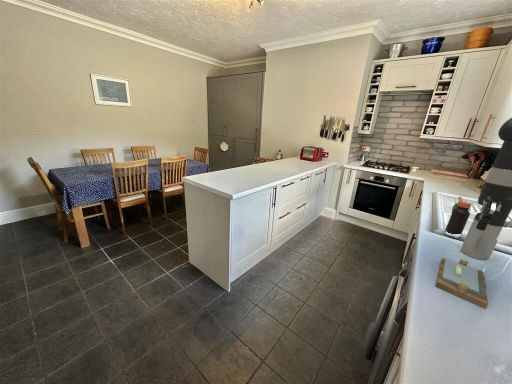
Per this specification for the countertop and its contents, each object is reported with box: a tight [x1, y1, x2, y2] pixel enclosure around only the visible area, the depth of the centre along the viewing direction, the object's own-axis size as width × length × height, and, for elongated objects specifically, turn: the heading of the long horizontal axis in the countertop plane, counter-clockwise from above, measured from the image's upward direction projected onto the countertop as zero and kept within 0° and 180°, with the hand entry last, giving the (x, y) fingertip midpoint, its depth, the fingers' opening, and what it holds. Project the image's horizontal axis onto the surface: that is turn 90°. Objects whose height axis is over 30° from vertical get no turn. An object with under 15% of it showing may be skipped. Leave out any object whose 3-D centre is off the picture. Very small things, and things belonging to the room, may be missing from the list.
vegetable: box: [451, 196, 464, 213], centre depth 124 cm, size 4×4×20 cm
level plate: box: [442, 258, 485, 297], centre depth 79 cm, size 17×11×3 cm, turn 135°
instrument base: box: [435, 257, 489, 309], centre depth 80 cm, size 23×13×4 cm, turn 135°
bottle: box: [444, 200, 472, 235], centre depth 114 cm, size 7×7×20 cm
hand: (480, 229), depth 74 cm, fingers closed
